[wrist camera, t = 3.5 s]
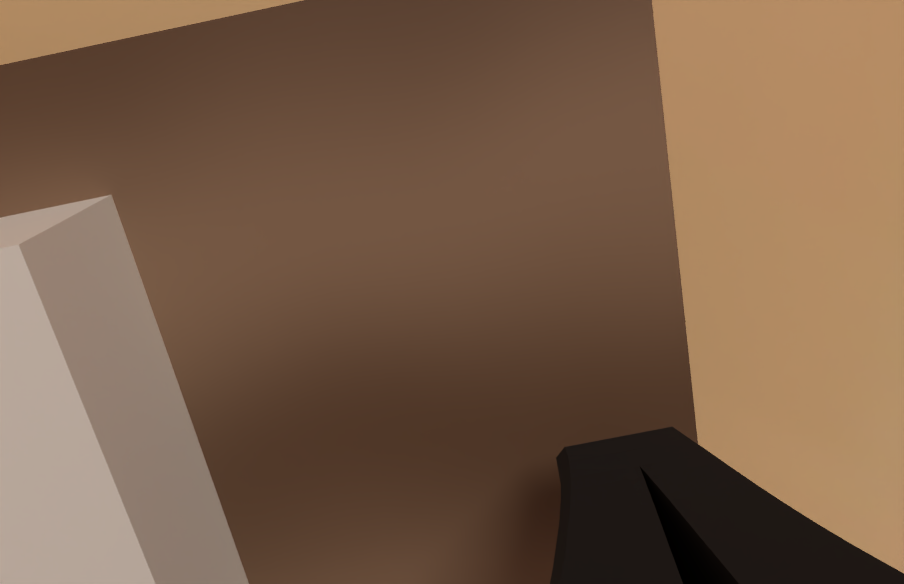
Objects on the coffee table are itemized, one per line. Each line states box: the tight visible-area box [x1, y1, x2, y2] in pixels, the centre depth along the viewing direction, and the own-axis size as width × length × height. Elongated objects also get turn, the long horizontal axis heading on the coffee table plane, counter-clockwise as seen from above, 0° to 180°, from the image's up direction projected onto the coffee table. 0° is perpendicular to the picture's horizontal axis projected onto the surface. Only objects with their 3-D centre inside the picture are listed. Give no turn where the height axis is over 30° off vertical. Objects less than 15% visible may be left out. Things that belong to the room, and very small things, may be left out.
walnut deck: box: [0, 0, 698, 584], centre depth 12 cm, size 12×18×4 cm, turn 101°
